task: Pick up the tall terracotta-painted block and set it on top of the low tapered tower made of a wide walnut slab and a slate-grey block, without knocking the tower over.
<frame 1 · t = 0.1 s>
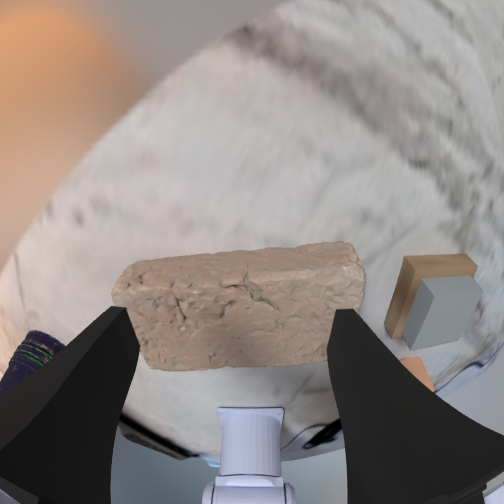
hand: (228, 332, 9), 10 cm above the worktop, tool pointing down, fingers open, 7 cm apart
storage jar: (55, 356, 28), on the worktop
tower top: (436, 304, 19), point 2 cm above the worktop, touching tower base
terracotta block: (396, 371, 27), on the worktop
brick: (243, 290, 22), on the worktop
tower base: (424, 286, 21), on the worktop, touching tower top
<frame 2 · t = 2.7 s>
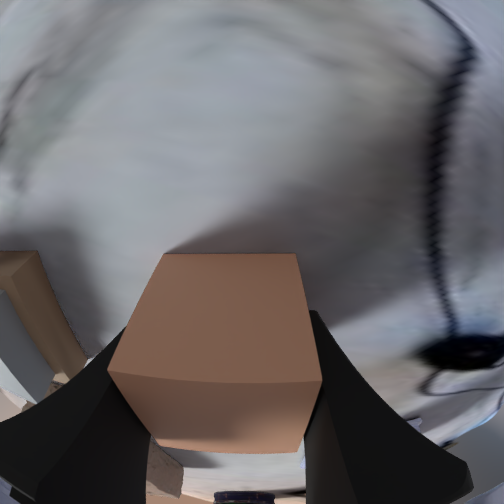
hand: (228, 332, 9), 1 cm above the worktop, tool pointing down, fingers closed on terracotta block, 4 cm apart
storage jar: (244, 494, 31), on the worktop
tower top: (1, 329, 9), point 2 cm above the worktop, touching tower base
terracotta block: (231, 305, 10), on the worktop, touching gripper
brick: (115, 430, 19), on the worktop
tower base: (25, 301, 12), on the worktop, touching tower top
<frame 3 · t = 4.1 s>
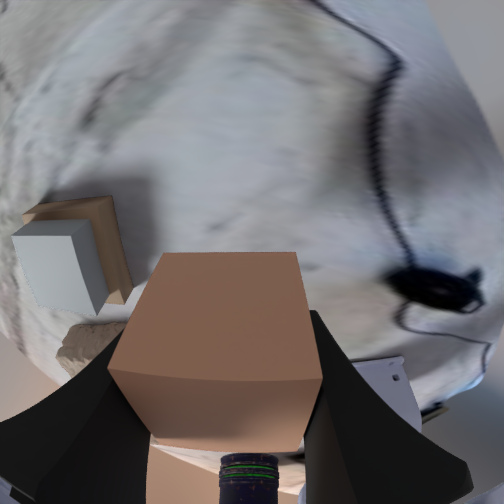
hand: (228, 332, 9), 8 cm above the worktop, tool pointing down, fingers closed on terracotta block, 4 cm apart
storage jar: (249, 459, 37), on the worktop
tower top: (67, 257, 16), point 2 cm above the worktop, touching tower base
terracotta block: (231, 304, 10), point 7 cm above the worktop, touching gripper
brick: (139, 376, 26), on the worktop
tower base: (85, 242, 18), on the worktop, touching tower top
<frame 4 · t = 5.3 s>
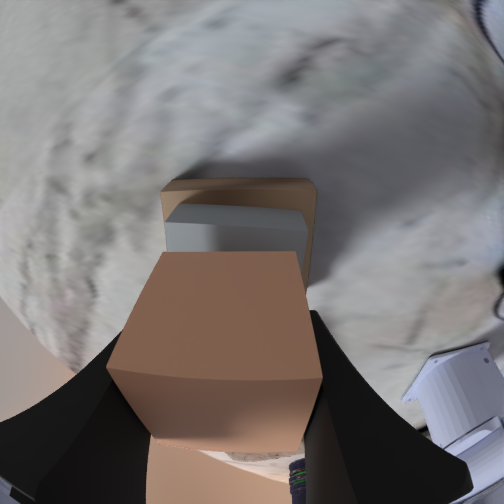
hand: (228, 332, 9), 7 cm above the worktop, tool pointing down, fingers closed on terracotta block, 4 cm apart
storage jar: (317, 461, 36), on the worktop
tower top: (236, 259, 14), point 2 cm above the worktop, touching tower base
terracotta block: (231, 303, 10), point 6 cm above the worktop, touching gripper
brick: (249, 390, 24), on the worktop
tower base: (241, 236, 16), on the worktop, touching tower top
when the fingers open (7 cm above the worktop, at t = 5.7 s): terracotta block drops 1 cm, resting on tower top.
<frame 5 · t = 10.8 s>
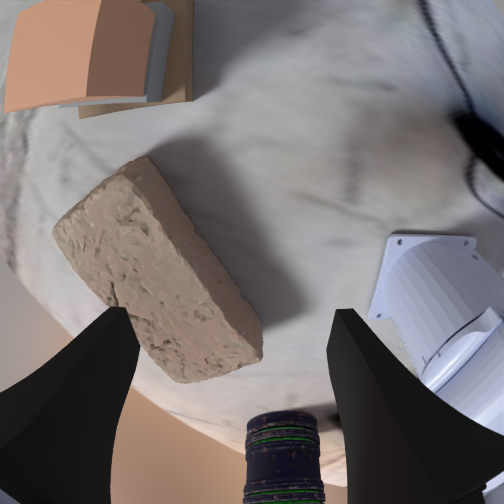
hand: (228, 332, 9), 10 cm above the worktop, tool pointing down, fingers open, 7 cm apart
storage jar: (281, 424, 33), on the worktop
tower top: (122, 58, 12), point 2 cm above the worktop, touching terracotta block, tower base
terracotta block: (108, 57, 10), point 4 cm above the worktop, touching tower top
brick: (169, 268, 21), on the worktop
tower base: (142, 58, 14), on the worktop, touching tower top
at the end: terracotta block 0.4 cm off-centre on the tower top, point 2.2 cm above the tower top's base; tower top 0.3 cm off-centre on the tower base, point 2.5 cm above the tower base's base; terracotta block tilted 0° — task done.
